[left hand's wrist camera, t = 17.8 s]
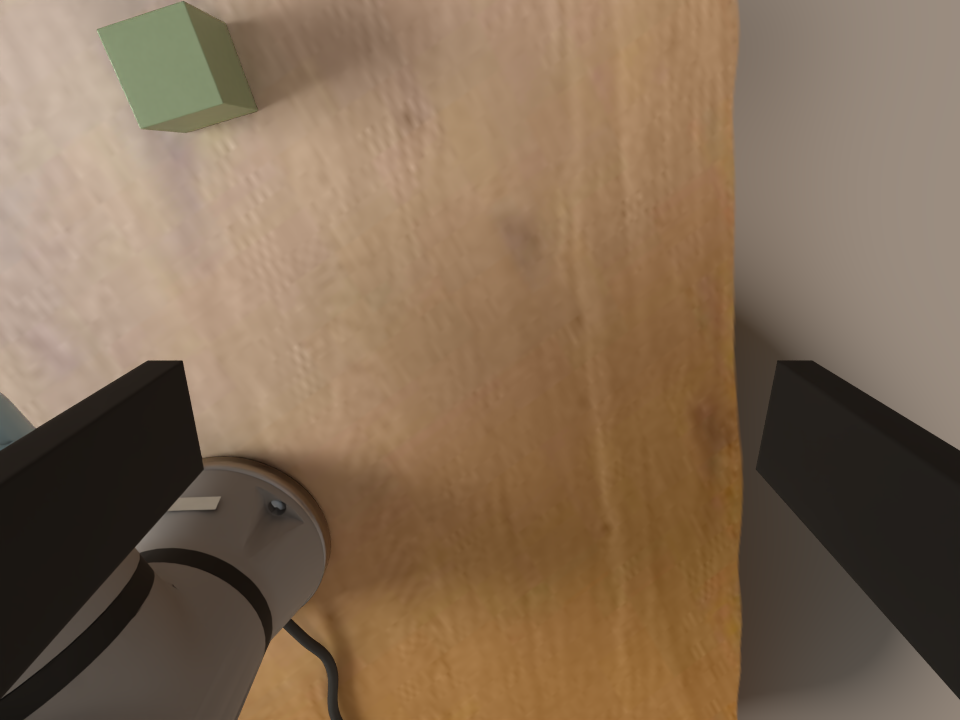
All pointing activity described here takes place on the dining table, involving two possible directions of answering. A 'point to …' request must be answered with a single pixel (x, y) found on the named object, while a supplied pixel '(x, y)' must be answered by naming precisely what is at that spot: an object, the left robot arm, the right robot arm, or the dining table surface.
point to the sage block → (178, 69)
